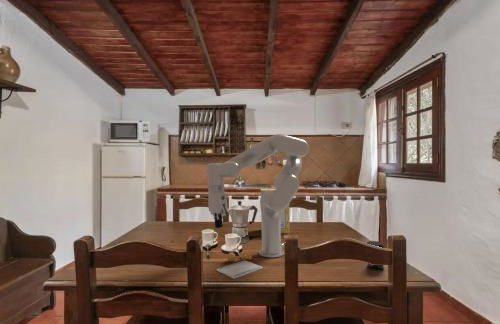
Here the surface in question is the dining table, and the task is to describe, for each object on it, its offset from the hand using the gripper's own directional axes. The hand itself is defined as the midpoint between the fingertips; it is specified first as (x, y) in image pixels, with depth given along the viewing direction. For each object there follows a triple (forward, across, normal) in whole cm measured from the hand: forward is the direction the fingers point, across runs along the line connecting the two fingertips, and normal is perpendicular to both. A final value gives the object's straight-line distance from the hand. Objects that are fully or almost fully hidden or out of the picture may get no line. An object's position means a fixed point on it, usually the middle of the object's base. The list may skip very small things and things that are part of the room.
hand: (218, 227), depth 135 cm
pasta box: (+18, +19, -58) cm, 64 cm away
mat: (+16, -16, +2) cm, 23 cm away
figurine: (+15, -5, 0) cm, 16 cm away
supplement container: (+19, -55, -42) cm, 72 cm away
